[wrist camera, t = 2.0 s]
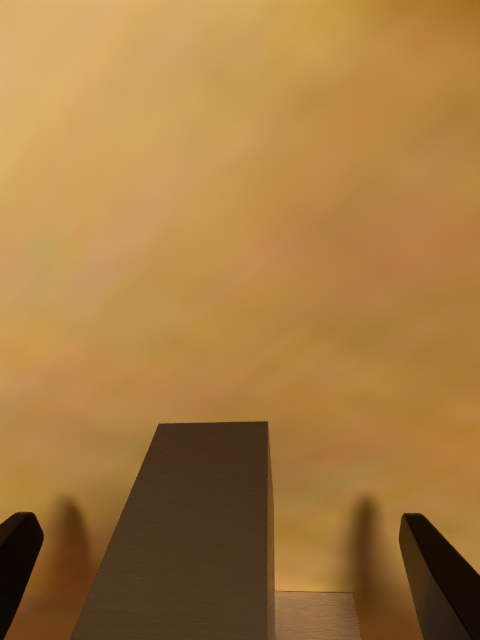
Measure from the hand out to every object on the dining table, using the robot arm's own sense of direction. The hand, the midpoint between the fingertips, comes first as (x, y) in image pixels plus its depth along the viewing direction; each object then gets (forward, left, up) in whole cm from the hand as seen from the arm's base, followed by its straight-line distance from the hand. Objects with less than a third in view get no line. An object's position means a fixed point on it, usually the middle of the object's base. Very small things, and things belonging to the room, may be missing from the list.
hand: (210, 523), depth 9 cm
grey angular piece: (0, +3, -2) cm, 4 cm away
